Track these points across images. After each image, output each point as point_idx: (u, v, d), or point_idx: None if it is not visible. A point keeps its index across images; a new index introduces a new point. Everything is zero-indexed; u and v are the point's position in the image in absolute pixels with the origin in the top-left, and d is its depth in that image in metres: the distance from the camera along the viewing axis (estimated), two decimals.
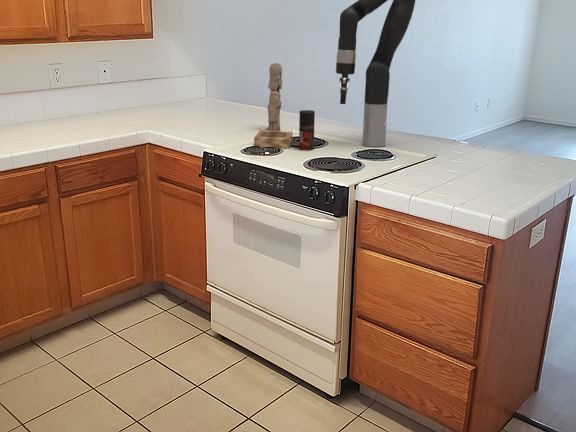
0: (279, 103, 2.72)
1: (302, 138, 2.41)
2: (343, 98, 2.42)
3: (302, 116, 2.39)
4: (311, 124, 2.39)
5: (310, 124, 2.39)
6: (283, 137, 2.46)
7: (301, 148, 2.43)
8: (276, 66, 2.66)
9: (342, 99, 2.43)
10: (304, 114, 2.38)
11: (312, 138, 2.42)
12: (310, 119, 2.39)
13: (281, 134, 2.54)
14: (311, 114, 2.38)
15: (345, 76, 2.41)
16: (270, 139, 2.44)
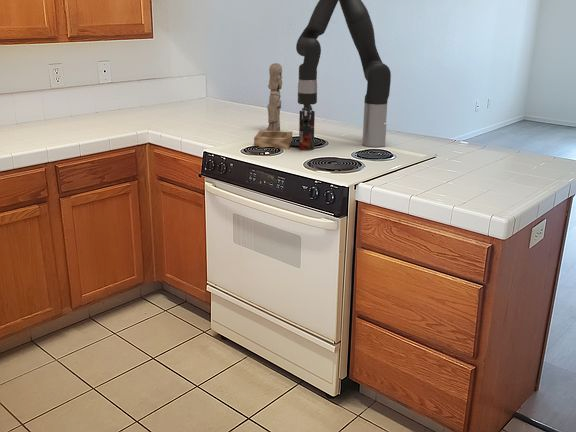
0: (279, 103, 2.72)
1: (302, 138, 2.41)
2: (306, 130, 2.38)
3: None
4: (311, 124, 2.39)
5: (310, 124, 2.39)
6: (283, 137, 2.46)
7: (301, 148, 2.43)
8: (276, 66, 2.66)
9: (305, 131, 2.38)
10: None
11: (312, 138, 2.42)
12: None
13: (281, 134, 2.54)
14: (311, 114, 2.38)
15: (307, 106, 2.36)
16: (270, 139, 2.44)
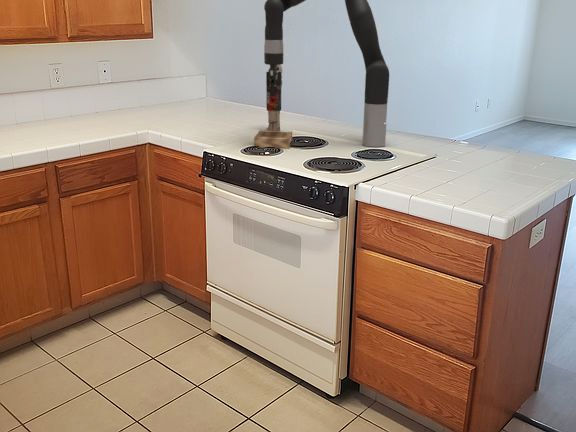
0: None
1: (269, 98, 2.43)
2: (272, 90, 2.40)
3: (268, 76, 2.41)
4: (278, 84, 2.42)
5: (277, 84, 2.41)
6: (283, 137, 2.46)
7: (268, 109, 2.45)
8: None
9: (272, 91, 2.41)
10: None
11: (279, 99, 2.44)
12: (277, 79, 2.41)
13: (281, 134, 2.54)
14: (277, 74, 2.40)
15: (273, 66, 2.38)
16: (270, 139, 2.44)
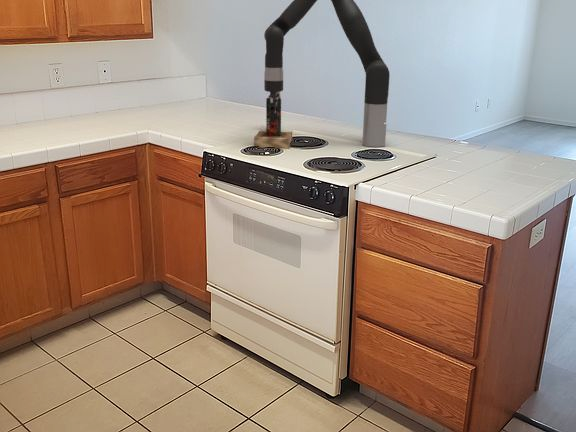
0: None
1: (269, 124, 2.47)
2: (272, 117, 2.44)
3: (268, 103, 2.44)
4: (277, 111, 2.45)
5: (276, 111, 2.45)
6: (283, 137, 2.46)
7: (268, 135, 2.49)
8: None
9: (271, 118, 2.44)
10: None
11: (279, 125, 2.48)
12: None
13: (281, 134, 2.54)
14: (277, 101, 2.44)
15: (273, 94, 2.41)
16: (270, 139, 2.44)
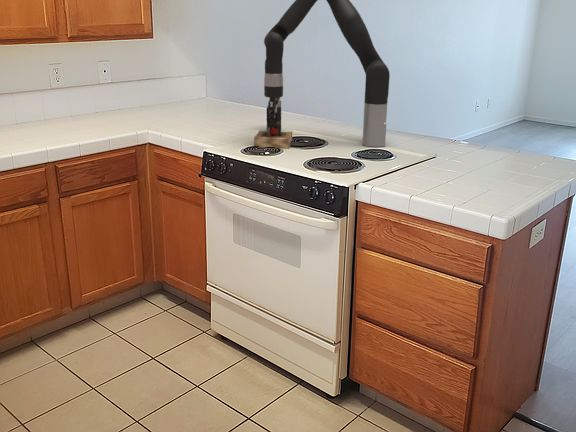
0: (279, 103, 2.72)
1: (269, 134, 2.48)
2: (272, 121, 2.44)
3: None
4: (278, 120, 2.46)
5: (277, 120, 2.46)
6: (283, 137, 2.46)
7: None
8: None
9: (271, 122, 2.44)
10: None
11: (279, 134, 2.49)
12: (277, 115, 2.45)
13: (281, 134, 2.54)
14: (277, 110, 2.45)
15: (273, 99, 2.42)
16: (270, 139, 2.44)
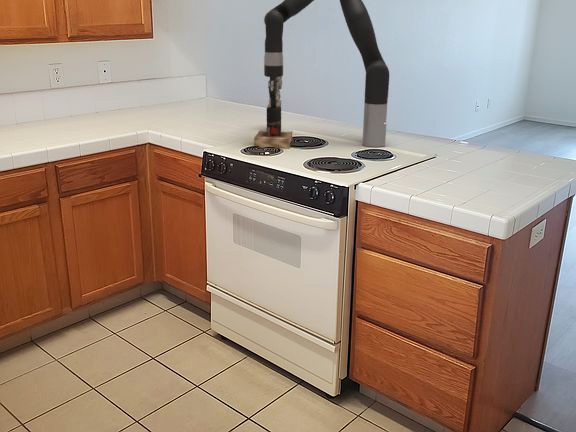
0: (279, 103, 2.72)
1: (269, 134, 2.48)
2: (273, 102, 2.45)
3: (268, 112, 2.46)
4: (278, 120, 2.46)
5: (277, 120, 2.46)
6: (283, 137, 2.46)
7: None
8: None
9: (272, 103, 2.45)
10: (271, 110, 2.45)
11: (279, 134, 2.49)
12: (277, 115, 2.45)
13: (281, 134, 2.54)
14: (277, 110, 2.45)
15: (273, 79, 2.40)
16: (270, 139, 2.44)
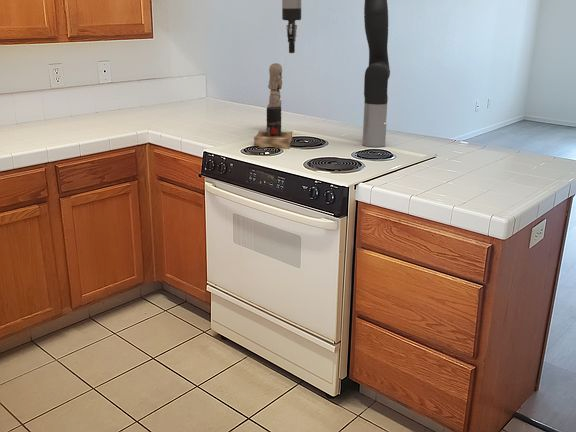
0: (279, 103, 2.72)
1: (269, 134, 2.48)
2: (291, 47, 2.43)
3: (268, 112, 2.46)
4: (278, 120, 2.46)
5: (277, 120, 2.46)
6: (283, 137, 2.46)
7: None
8: (276, 66, 2.66)
9: (290, 48, 2.43)
10: (271, 110, 2.45)
11: (279, 134, 2.49)
12: (277, 115, 2.46)
13: (281, 134, 2.54)
14: (277, 110, 2.45)
15: (291, 22, 2.38)
16: (270, 139, 2.44)
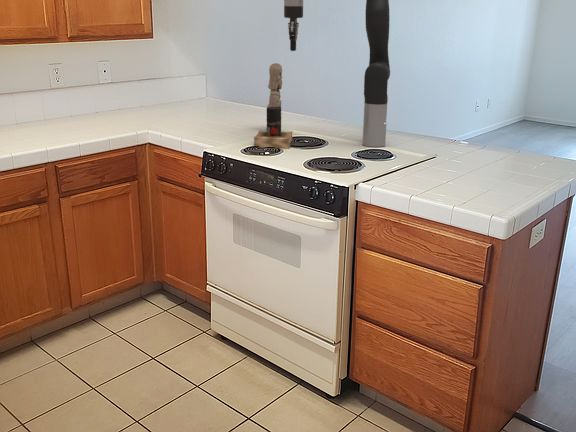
0: (279, 103, 2.72)
1: (269, 134, 2.48)
2: (293, 44, 2.43)
3: (268, 112, 2.46)
4: (278, 120, 2.46)
5: (277, 120, 2.46)
6: (283, 137, 2.46)
7: None
8: (276, 66, 2.66)
9: (292, 46, 2.44)
10: (271, 110, 2.45)
11: (279, 134, 2.49)
12: (277, 115, 2.46)
13: (281, 134, 2.54)
14: (277, 110, 2.45)
15: (293, 19, 2.38)
16: (270, 139, 2.44)
